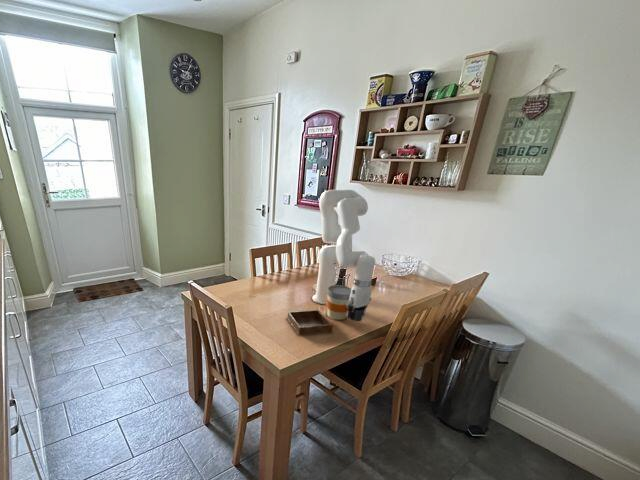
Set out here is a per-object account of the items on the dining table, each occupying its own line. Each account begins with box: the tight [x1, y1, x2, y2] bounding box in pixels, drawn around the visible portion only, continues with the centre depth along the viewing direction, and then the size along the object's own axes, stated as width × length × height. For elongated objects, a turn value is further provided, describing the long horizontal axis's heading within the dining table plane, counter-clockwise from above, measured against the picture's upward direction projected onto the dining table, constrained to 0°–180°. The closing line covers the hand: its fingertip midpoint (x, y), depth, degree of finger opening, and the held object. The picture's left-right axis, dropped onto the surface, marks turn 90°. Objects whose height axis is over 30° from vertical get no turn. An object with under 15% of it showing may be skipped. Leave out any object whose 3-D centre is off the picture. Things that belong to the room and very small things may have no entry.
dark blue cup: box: [351, 306, 367, 322], centre depth 157 cm, size 7×7×6 cm
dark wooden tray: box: [287, 309, 333, 335], centre depth 159 cm, size 16×16×4 cm
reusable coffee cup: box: [326, 284, 352, 321], centre depth 166 cm, size 13×13×15 cm
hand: (356, 316), depth 158 cm, fingers closed on dark blue cup, 7 cm apart
